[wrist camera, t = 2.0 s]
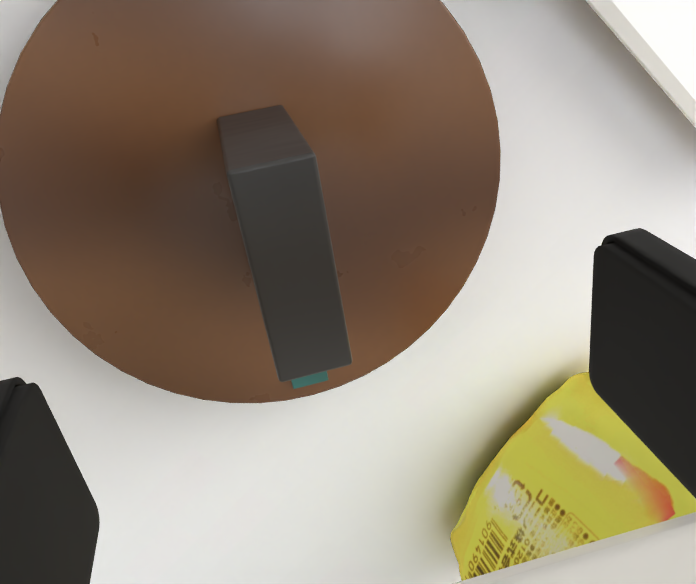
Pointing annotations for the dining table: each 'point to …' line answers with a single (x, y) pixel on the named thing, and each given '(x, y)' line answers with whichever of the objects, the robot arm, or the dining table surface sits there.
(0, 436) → the robot arm
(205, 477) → the dining table surface
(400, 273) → the turntable
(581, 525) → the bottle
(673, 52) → the plate
